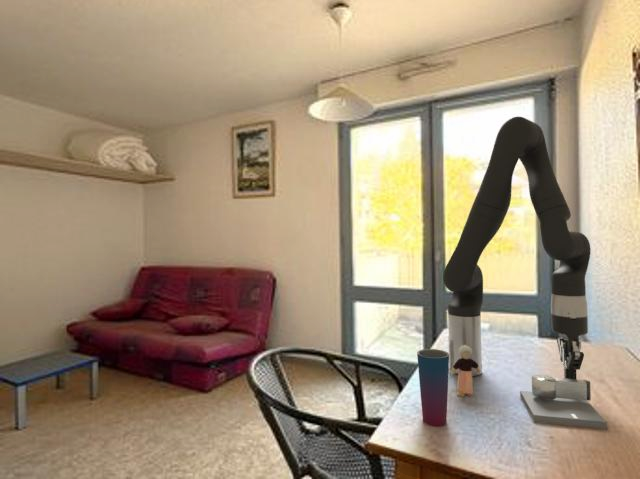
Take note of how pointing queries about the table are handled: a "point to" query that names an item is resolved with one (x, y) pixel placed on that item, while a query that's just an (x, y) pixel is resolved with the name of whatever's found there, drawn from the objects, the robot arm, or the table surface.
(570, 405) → the base
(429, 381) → the cup
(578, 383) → the lever
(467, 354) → the grandmother figurine
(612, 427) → the table surface
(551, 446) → the table surface
